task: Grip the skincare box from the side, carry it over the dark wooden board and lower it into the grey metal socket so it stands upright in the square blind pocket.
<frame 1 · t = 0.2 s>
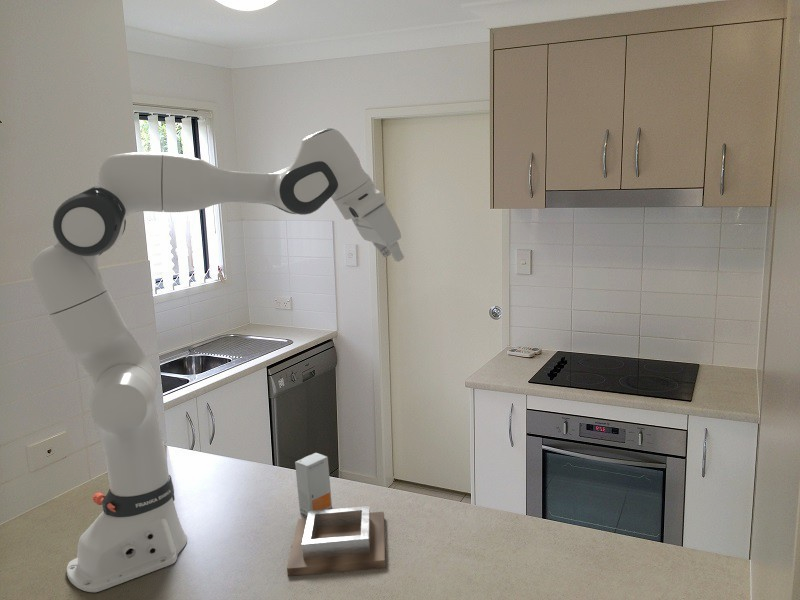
hand: (393, 257, 142), 54 cm above the countertop, tool tilted 25°, fingers open, 8 cm apart
skincare box: (316, 510, 148), on the countertop
socket board: (339, 545, 133), on the countertop
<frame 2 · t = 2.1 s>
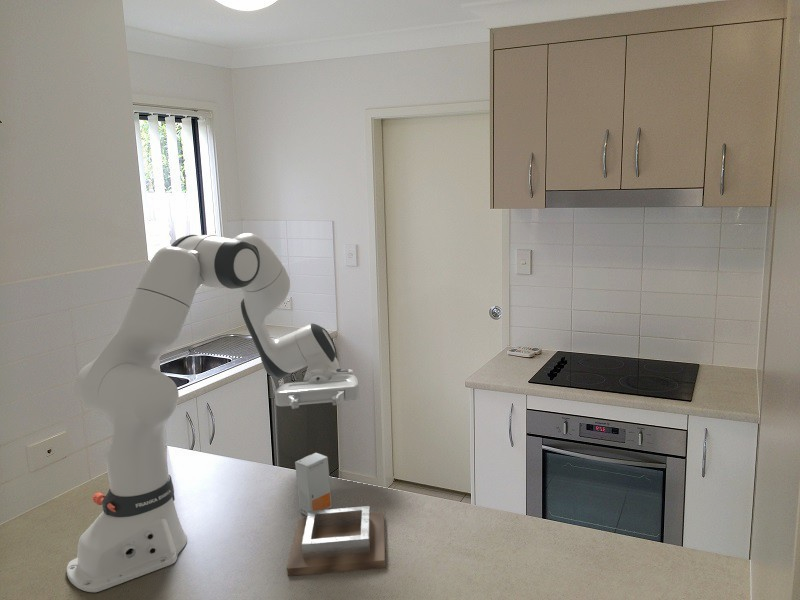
hand: (314, 403, 156), 20 cm above the countertop, tool horizontal, fingers open, 8 cm apart
nothing on the countertop moved.
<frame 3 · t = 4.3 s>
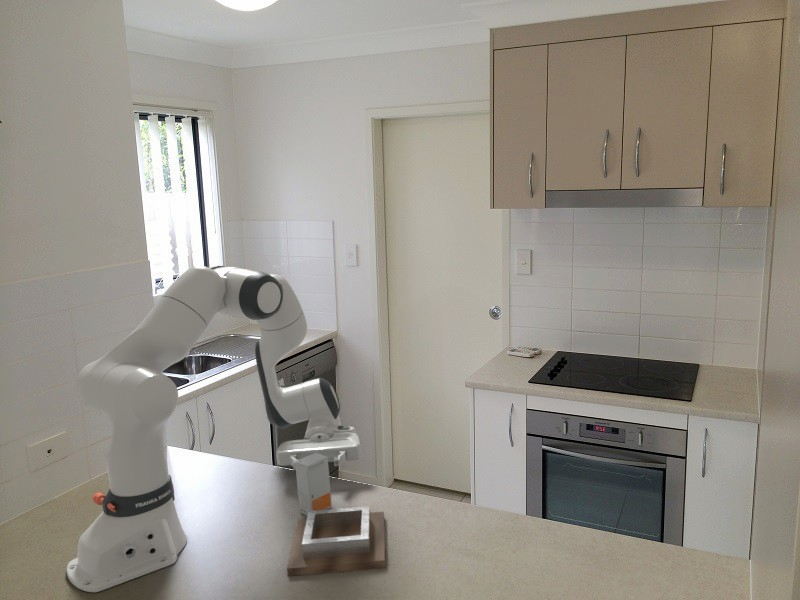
hand: (316, 464, 156), 6 cm above the countertop, tool horizontal, fingers open, 8 cm apart
nothing on the countertop moved.
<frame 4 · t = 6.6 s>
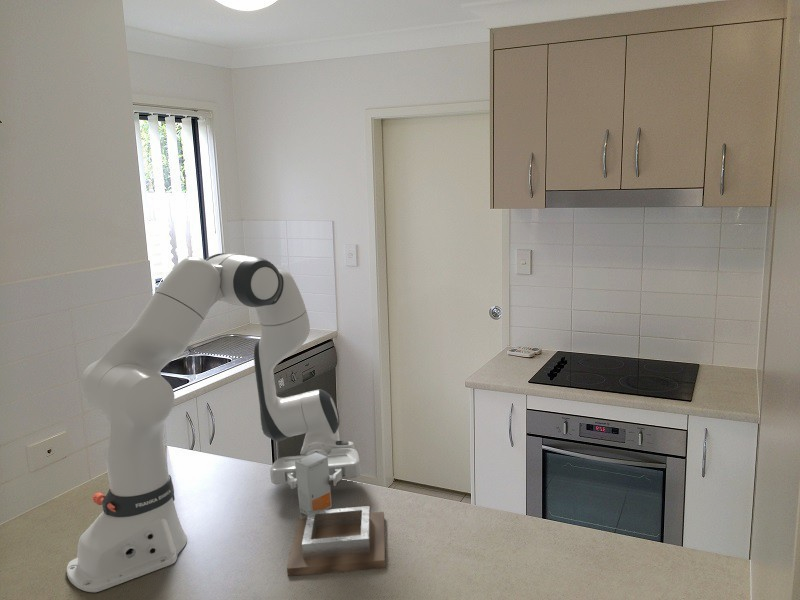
hand: (313, 484, 146), 7 cm above the countertop, tool horizontal, fingers closed on skincare box, 7 cm apart
skincare box: (316, 510, 148), on the countertop, touching gripper
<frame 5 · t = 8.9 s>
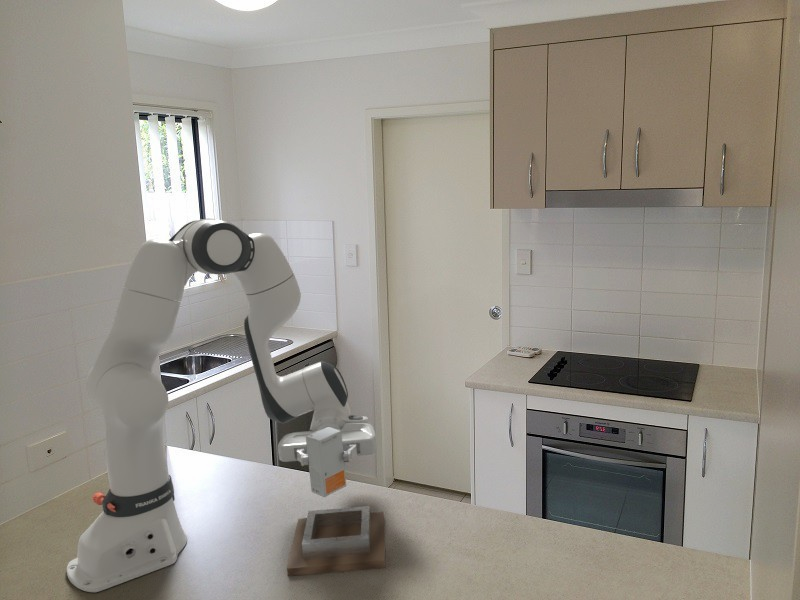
hand: (325, 460, 133), 17 cm above the countertop, tool horizontal, fingers closed on skincare box, 7 cm apart
skincare box: (329, 490, 135), point 10 cm above the countertop, touching gripper
when the fingers open (9 cm above the countertop, at t = 11.7 s): skincare box stays where it is, resting on socket board.
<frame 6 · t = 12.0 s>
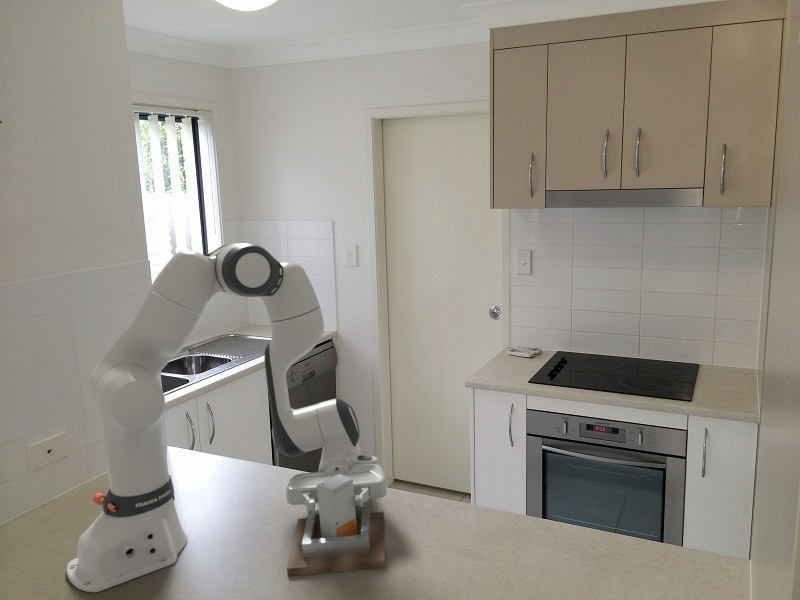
hand: (334, 505, 131), 9 cm above the countertop, tool horizontal, fingers open, 8 cm apart
skincare box: (340, 538, 133), point 1 cm above the countertop, touching socket board
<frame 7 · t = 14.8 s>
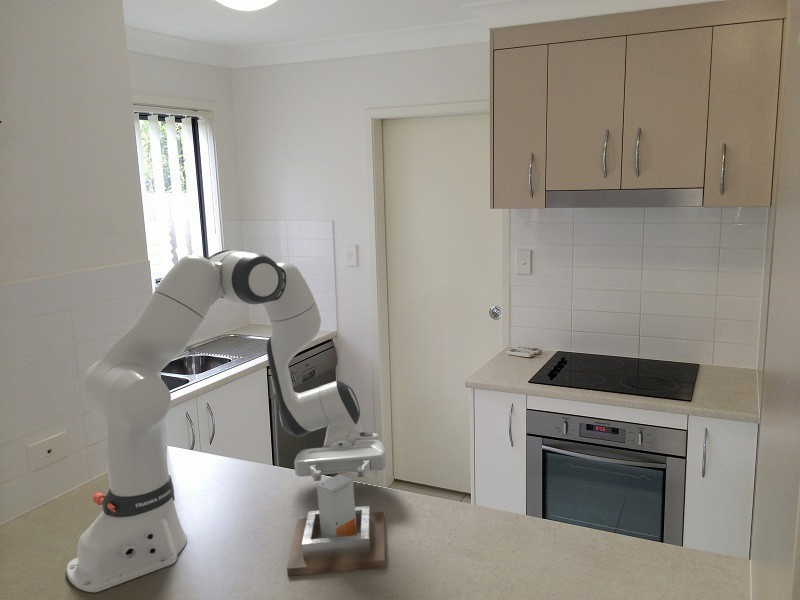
hand: (338, 475, 143), 9 cm above the countertop, tool horizontal, fingers open, 8 cm apart
nothing on the countertop moved.
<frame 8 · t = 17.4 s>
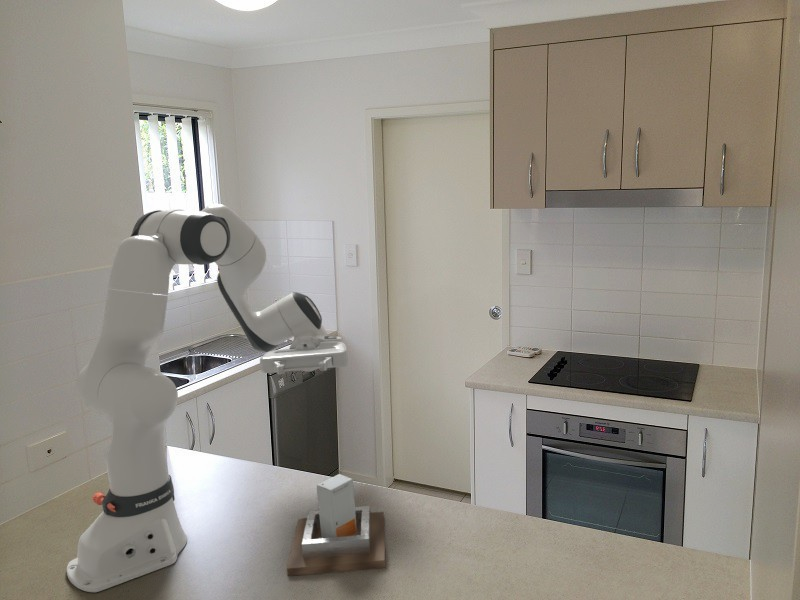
hand: (301, 368, 150), 30 cm above the countertop, tool horizontal, fingers open, 8 cm apart
nothing on the countertop moved.
at the end: skincare box 0.4 cm off-centre on the socket board, point 1.3 cm above the socket board's base; skincare box tilted 0°; the gripper is holding nothing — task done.
